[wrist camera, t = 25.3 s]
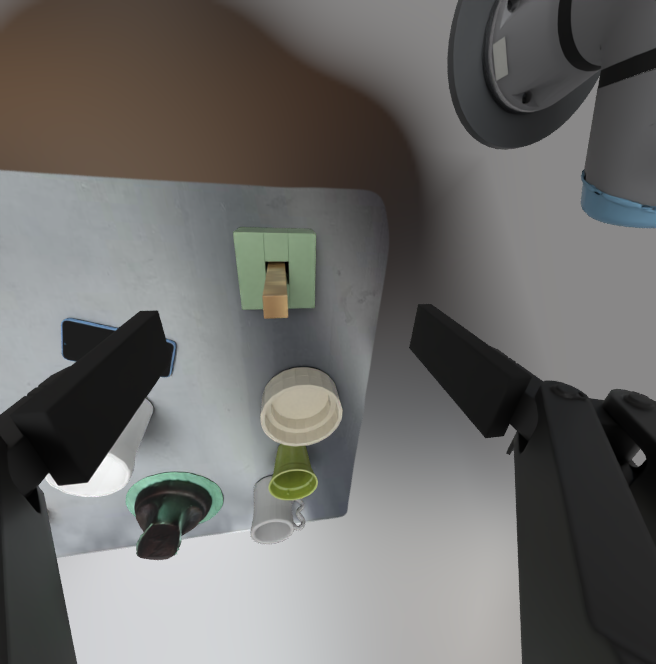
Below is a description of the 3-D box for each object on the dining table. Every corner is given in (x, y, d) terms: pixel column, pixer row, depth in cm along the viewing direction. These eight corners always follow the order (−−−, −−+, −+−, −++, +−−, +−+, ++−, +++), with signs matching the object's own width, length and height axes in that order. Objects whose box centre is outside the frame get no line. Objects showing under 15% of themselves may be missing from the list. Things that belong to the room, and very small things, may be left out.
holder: (311, 228, 38) (316, 233, 33) (310, 294, 42) (314, 308, 37) (239, 226, 36) (232, 231, 31) (246, 295, 41) (241, 309, 36)
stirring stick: (284, 256, 39) (287, 295, 23) (284, 270, 40) (288, 318, 24) (269, 256, 39) (262, 295, 23) (270, 271, 40) (263, 318, 24)
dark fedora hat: (114, 474, 52) (222, 468, 56) (145, 484, 66) (228, 478, 71) (81, 577, 43) (211, 559, 48) (124, 561, 58) (220, 549, 63)
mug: (248, 494, 62) (243, 543, 54) (262, 470, 59) (259, 517, 51) (295, 501, 67) (297, 547, 58) (311, 479, 64) (316, 524, 55)
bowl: (309, 351, 47) (313, 370, 42) (348, 398, 54) (356, 420, 49) (246, 391, 49) (242, 415, 44) (291, 432, 56) (293, 457, 50)
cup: (162, 384, 45) (122, 447, 34) (168, 426, 50) (135, 495, 38) (95, 383, 43) (28, 450, 32) (108, 427, 48) (53, 500, 36)
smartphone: (169, 379, 44) (60, 360, 40) (171, 376, 45) (65, 357, 40) (175, 342, 41) (59, 317, 37) (177, 340, 42) (63, 315, 38)
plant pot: (298, 466, 61) (300, 505, 53) (261, 455, 57) (259, 494, 50) (320, 440, 58) (327, 477, 51) (284, 427, 55) (285, 464, 47)
